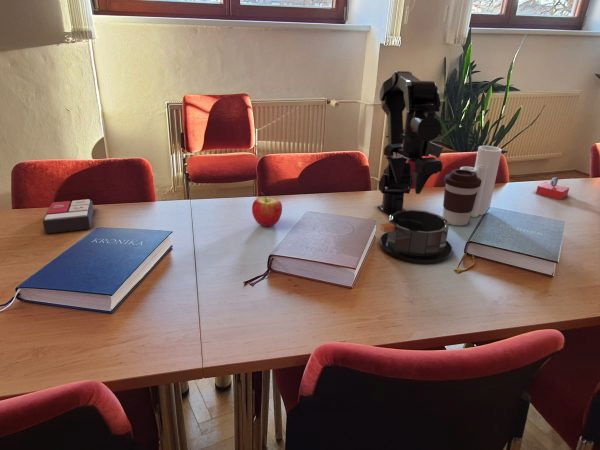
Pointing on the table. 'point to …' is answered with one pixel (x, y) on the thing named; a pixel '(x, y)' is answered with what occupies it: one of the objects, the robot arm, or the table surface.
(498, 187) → the table surface
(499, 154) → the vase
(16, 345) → the table surface
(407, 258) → the turntable
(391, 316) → the table surface
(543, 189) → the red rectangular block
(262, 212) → the apple
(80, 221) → the grey labelled box
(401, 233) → the bowl
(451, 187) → the coffee cup
